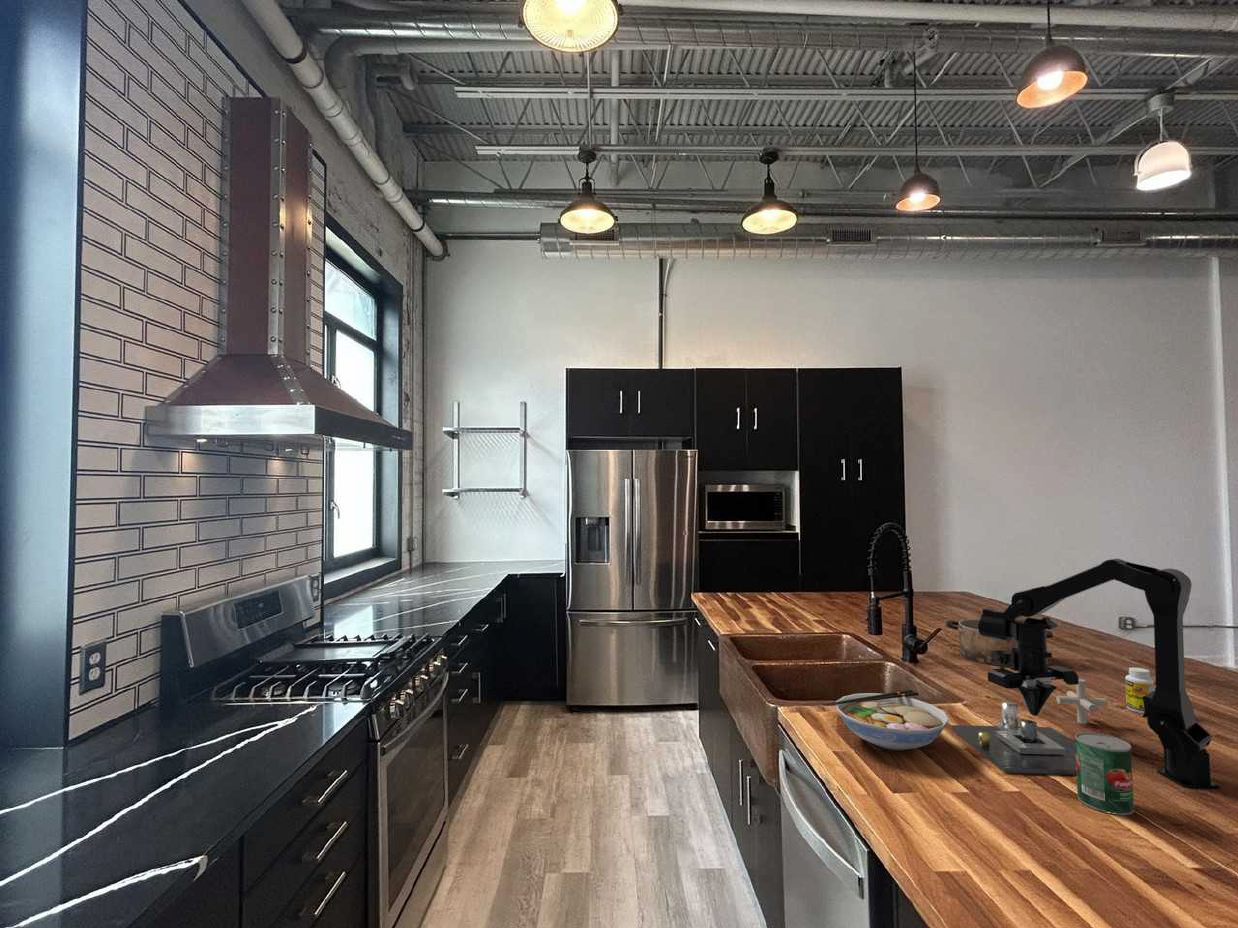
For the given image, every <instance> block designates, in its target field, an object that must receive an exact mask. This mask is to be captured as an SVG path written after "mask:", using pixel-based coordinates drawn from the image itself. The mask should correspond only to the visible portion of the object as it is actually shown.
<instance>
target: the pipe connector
mask: <svg viewBox="0 0 1238 928" xmlns="http://www.w3.org/2000/svg"><path fill="white" fill-rule="evenodd" d="M1078 681H1079V684H1077V685H1075V690H1076V692H1074V691H1072V690H1068V691H1066V694H1065V695H1057V696H1056V703H1057V704H1058V705H1073V706H1074V705H1076V717H1077V718H1076V719H1077V723H1078V724H1082V725H1087V724H1088V713H1087V711H1088V712H1090V713H1093V714H1094V713H1097V712H1098V711H1099V708H1098V707H1108V700H1107V699H1106V698H1104V697H1103V698H1102V697H1101V698H1100V697H1087V688H1086V687H1087V686H1086V685H1087V683H1086V680H1085V679H1082V678H1078Z"/></svg>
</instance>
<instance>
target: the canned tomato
mask: <svg viewBox="0 0 1238 928" xmlns="http://www.w3.org/2000/svg"><path fill="white" fill-rule="evenodd" d="M1074 738H1075V740H1074V742H1075V743H1076V744H1075V747H1076V770H1077V775H1076V791H1077V792H1076V793H1077V795H1076V797H1078V798H1077V799H1079V800H1080V801H1081V802H1083V803H1084V804H1085V805H1084V804H1083V803H1082V804H1083V805H1084V806H1086V805H1087V806H1086V807H1088V806H1089V807H1088V808H1090V807H1091V808H1090V809H1092V808H1093V810H1095V809H1097V810H1100V811H1104V812H1110V813H1113V814H1114V813H1115V814H1120V815H1119V816H1130V815H1132V814H1134V812H1135V807H1134V785H1133V765H1132V764H1133V760H1132V759H1133V757H1132V745H1131V744H1130V743H1129V742H1127V741H1125V740H1123V739H1121V738H1119V737H1115V736H1113V735H1110V734H1109V735H1108V734H1104V733H1097V732H1091V731H1090V732H1088V731H1086V732H1077V733H1076V734H1074ZM1079 800H1078V801H1079ZM1080 801H1079V802H1080ZM1081 802H1080V803H1081ZM1097 810H1096V811H1097ZM1100 811H1099V812H1100ZM1104 812H1103V813H1104ZM1113 814H1112V815H1113Z"/></svg>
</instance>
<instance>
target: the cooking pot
mask: <svg viewBox="0 0 1238 928" xmlns="http://www.w3.org/2000/svg"><path fill="white" fill-rule="evenodd" d="M979 621H980V618H970V619H969V618H968V619H962V620H959V621H955V620H949V621H947V622H946V623H945V627H947V628H948V629H952V630H954V631H955V630H956V631H958V637H959V638H958V640H959V641H958V643H959V647H958V648H959V655H960V656H961V655H962V656H963V658H964V659H966V660H969V661H972V662H974V663H979V664H984V665H987V666H994V667H999V665H994V664H993V663H992V660H991V651H999V650H1002V651H1003V653H1004V654H1011V653H1012V647H1017V640H1016V637H1015V638H1012V639H1011V640H1010V641H1004V640H999V639H993V638H988V637H983V636H981V635H980V633H979V629H978V623H979ZM1046 637H1047V639H1052V638H1053V637H1054V634H1053V632H1052V631H1050V630H1048V629H1046ZM962 656H961V657H962Z"/></svg>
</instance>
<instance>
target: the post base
mask: <svg viewBox="0 0 1238 928" xmlns="http://www.w3.org/2000/svg"><path fill="white" fill-rule="evenodd" d="M1019 723H1020V724H1019V725H1020V726H1019V725H1018V728H1020V732H1021V741H1022V742H1023V743H1031V744H1038V736H1037V731H1038V732H1040V733H1041V734H1043V735H1044V736H1046V737H1048V738H1049V739H1051V740H1052V741H1054V742H1055V743H1057V744H1059V745H1060V746H1062V747H1063V748H1065V755H1057V754H1020V753H1018V752H1017V751H1016V750H1014V749H1013V748H1011V747H1010V746H1009V745H1007V744H1006V743H1005V742H1003V741H1002V740H1000V739H999V738H998V737H996V731H1001V730H1000V729H999V728H997V725H967V724H966V725H965V724H963V725H960V724H959V725H958V724H957V725H956V724H951V731H953V732H954V733H955V734H956V735H958V737H960V738H961V739H962V740H963V741H965V742H966V743H967V744H968V745H970V746H971V747H972V748H973V749H975V750H976V751H977V752H978V753H980V754H981V755H982V756H983V757H984V758H985V759H987V760H988V761H990V762H991V763H992V764H993V765H995V767H997V768H998V769H999V770H1000V771H1002V772H1003V773H1004V774H1009V775H1010V774H1011V775H1012V774H1015V775H1016V774H1018V775H1051V776H1052V775H1056V776H1057V775H1059V776H1061V775H1063V776H1077V770H1076V747H1075V744H1076V743H1075V740H1073V739H1071V738H1069V737H1068V736H1065V735H1064V734H1062V733H1061V732H1058V730H1056V729H1054V728H1052V727H1051V726H1038V723H1037V721H1034V720H1030V719H1020V720H1019Z"/></svg>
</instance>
